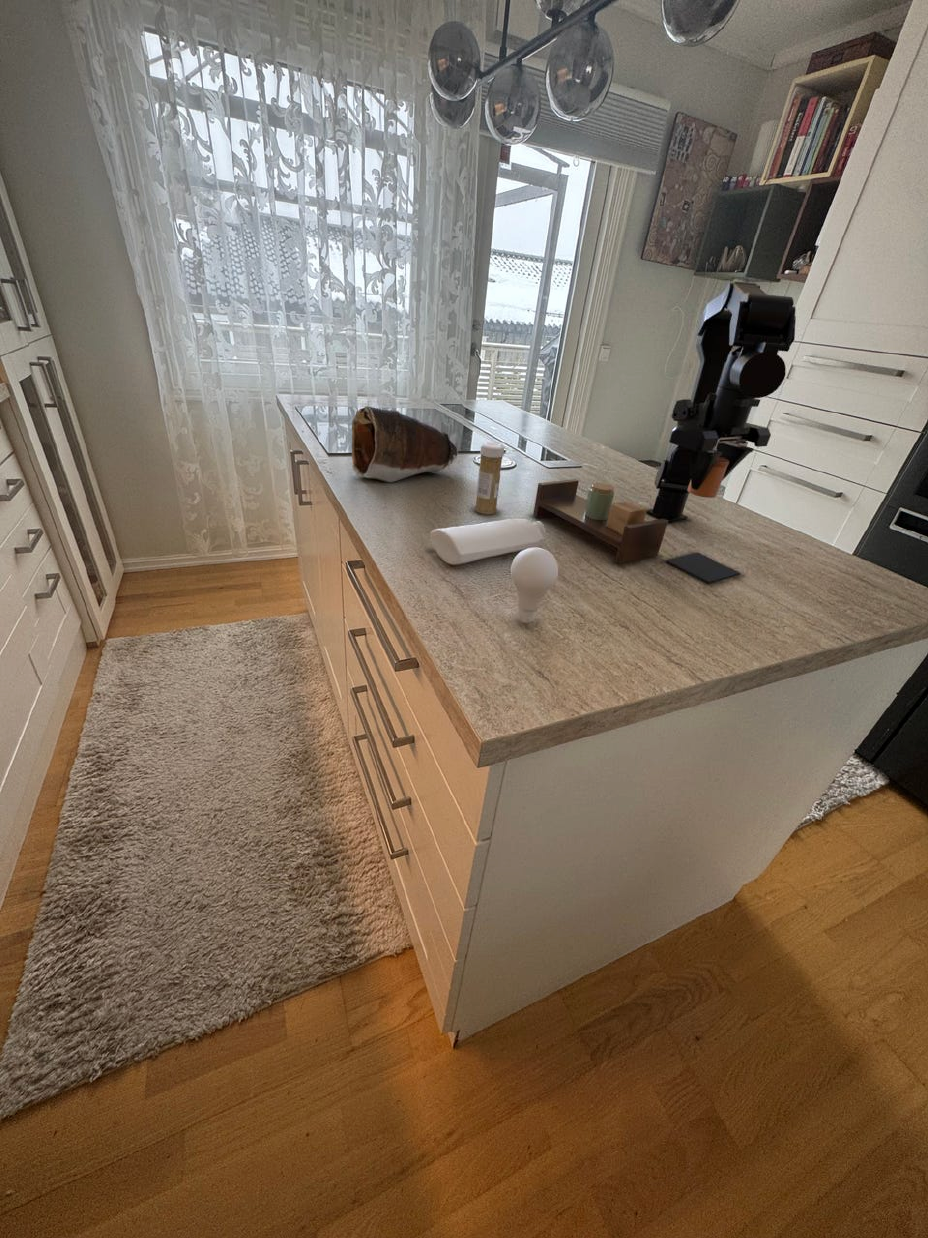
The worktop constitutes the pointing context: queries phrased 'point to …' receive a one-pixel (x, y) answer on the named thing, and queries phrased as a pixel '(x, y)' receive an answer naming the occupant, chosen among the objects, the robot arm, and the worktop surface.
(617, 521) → the oak block
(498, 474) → the sprinkles bottle
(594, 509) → the sage jar
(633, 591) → the worktop surface
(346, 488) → the worktop surface
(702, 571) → the black rubber mat
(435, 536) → the squeeze bottle
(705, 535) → the worktop surface
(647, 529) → the walnut shelf
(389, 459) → the clay pot
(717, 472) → the copper tin
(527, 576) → the lightbulb
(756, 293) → the robot arm
